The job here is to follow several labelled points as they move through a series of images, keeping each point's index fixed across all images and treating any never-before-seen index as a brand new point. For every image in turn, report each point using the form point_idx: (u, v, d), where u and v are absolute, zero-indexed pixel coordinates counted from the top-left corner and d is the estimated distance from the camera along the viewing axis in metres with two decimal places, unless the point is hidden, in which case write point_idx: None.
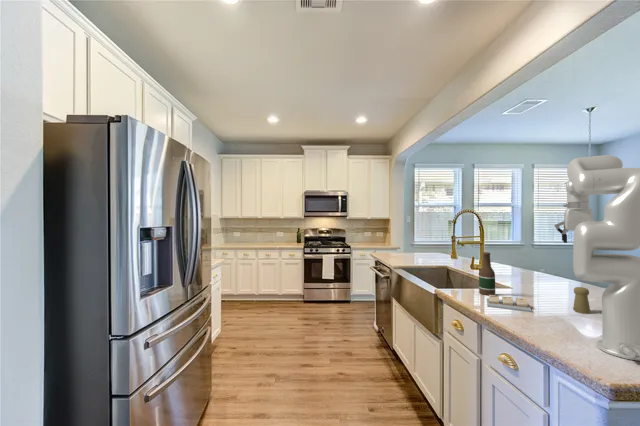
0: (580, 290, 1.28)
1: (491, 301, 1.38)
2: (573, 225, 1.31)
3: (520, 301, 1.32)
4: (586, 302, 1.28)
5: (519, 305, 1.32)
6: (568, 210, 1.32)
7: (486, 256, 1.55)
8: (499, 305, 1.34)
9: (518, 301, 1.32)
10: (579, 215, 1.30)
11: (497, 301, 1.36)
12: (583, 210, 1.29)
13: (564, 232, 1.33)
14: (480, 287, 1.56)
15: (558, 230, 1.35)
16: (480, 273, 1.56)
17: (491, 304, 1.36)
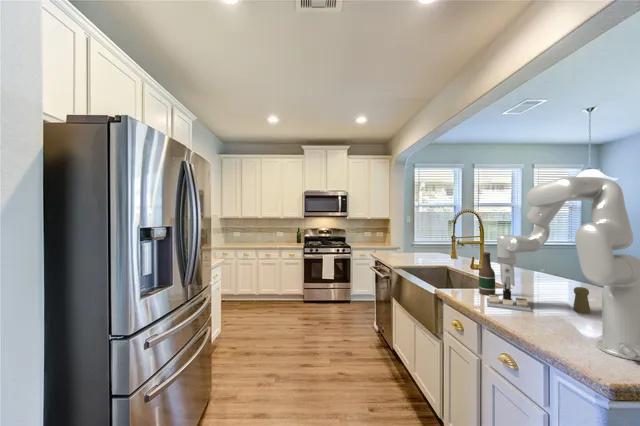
0: (580, 290, 1.28)
1: (491, 301, 1.38)
2: None
3: (520, 301, 1.32)
4: (586, 302, 1.28)
5: (519, 305, 1.32)
6: (513, 266, 1.32)
7: (486, 256, 1.55)
8: (499, 305, 1.34)
9: (518, 301, 1.32)
10: None
11: (497, 301, 1.36)
12: None
13: None
14: (480, 287, 1.56)
15: (509, 288, 1.33)
16: (480, 273, 1.56)
17: (491, 304, 1.36)
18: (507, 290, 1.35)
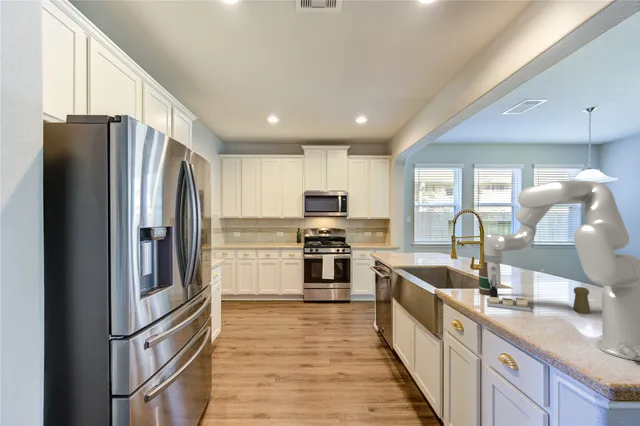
0: (580, 290, 1.28)
1: (491, 301, 1.38)
2: None
3: (520, 301, 1.32)
4: (586, 302, 1.28)
5: (519, 305, 1.32)
6: (499, 264, 1.35)
7: None
8: (499, 305, 1.34)
9: (518, 301, 1.32)
10: None
11: (497, 301, 1.36)
12: None
13: (496, 287, 1.38)
14: (480, 287, 1.56)
15: (495, 286, 1.36)
16: (480, 273, 1.56)
17: (491, 304, 1.36)
18: (493, 288, 1.37)
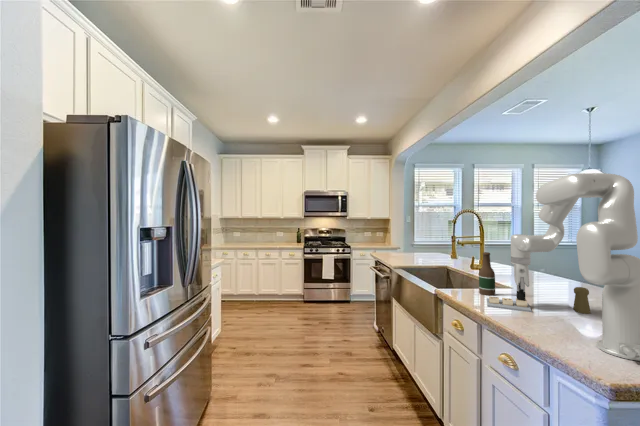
0: (580, 290, 1.28)
1: None
2: None
3: (520, 302, 1.32)
4: (586, 302, 1.28)
5: (519, 306, 1.32)
6: (527, 266, 1.29)
7: (486, 256, 1.55)
8: (499, 305, 1.34)
9: (518, 302, 1.32)
10: None
11: (497, 303, 1.36)
12: None
13: (524, 290, 1.32)
14: (480, 287, 1.56)
15: (523, 289, 1.31)
16: (480, 273, 1.56)
17: (491, 304, 1.36)
18: (521, 291, 1.32)
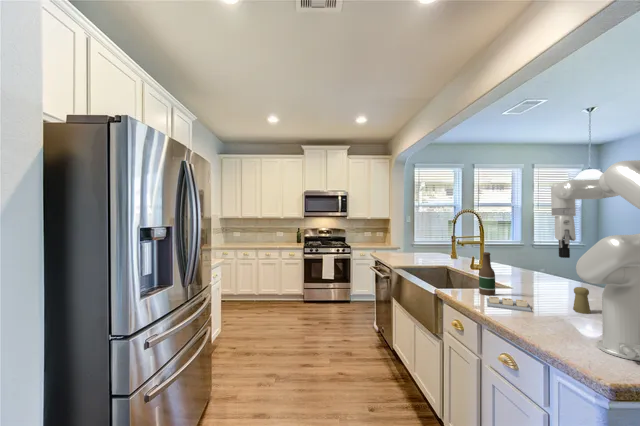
0: (580, 290, 1.28)
1: None
2: None
3: (520, 303, 1.32)
4: (586, 302, 1.28)
5: None
6: (573, 217, 1.12)
7: (486, 256, 1.55)
8: (499, 305, 1.34)
9: (518, 303, 1.32)
10: None
11: (497, 303, 1.36)
12: None
13: None
14: (480, 287, 1.56)
15: (568, 244, 1.14)
16: (480, 273, 1.56)
17: (491, 304, 1.36)
18: (565, 246, 1.15)
